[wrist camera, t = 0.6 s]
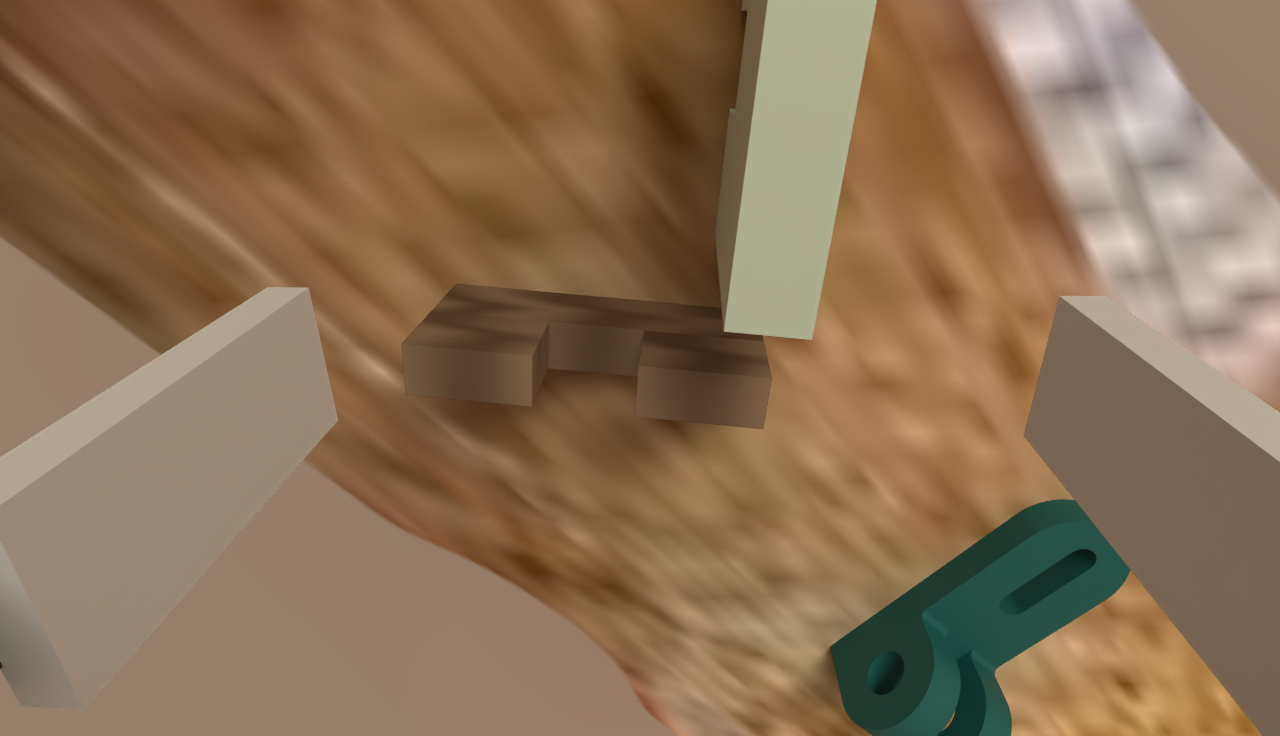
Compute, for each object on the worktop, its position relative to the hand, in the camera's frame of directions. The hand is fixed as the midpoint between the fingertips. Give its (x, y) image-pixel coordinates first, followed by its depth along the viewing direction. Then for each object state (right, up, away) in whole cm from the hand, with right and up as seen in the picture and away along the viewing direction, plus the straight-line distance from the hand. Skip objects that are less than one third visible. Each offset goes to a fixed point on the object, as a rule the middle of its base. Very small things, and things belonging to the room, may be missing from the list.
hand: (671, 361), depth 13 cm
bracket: (+20, -14, +33) cm, 41 cm away
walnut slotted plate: (-3, +2, +26) cm, 26 cm away
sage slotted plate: (+5, +14, +20) cm, 25 cm away
